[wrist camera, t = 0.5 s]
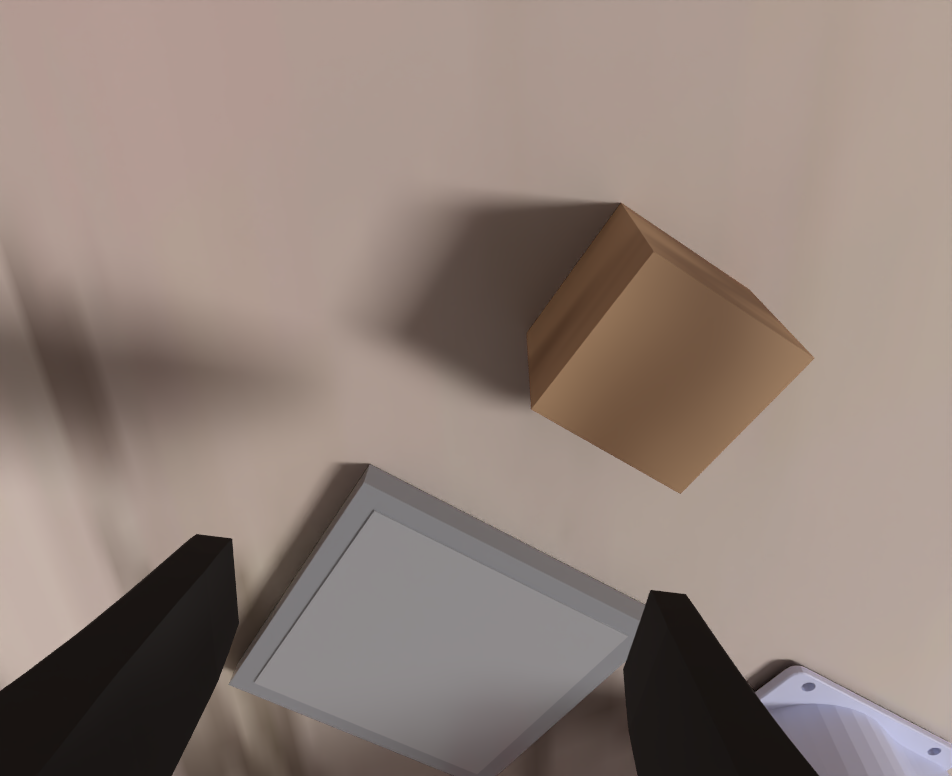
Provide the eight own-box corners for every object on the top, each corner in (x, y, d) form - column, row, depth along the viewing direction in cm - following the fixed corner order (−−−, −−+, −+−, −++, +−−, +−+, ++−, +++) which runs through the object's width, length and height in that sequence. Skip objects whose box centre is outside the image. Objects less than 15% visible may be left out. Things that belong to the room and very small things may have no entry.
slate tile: (653, 609, 24) (659, 632, 23) (483, 765, 29) (483, 789, 28) (369, 464, 22) (363, 483, 21) (237, 663, 27) (228, 686, 26)
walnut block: (748, 288, 18) (814, 358, 14) (646, 404, 20) (680, 494, 16) (620, 201, 17) (653, 251, 13) (526, 332, 19) (531, 409, 15)
